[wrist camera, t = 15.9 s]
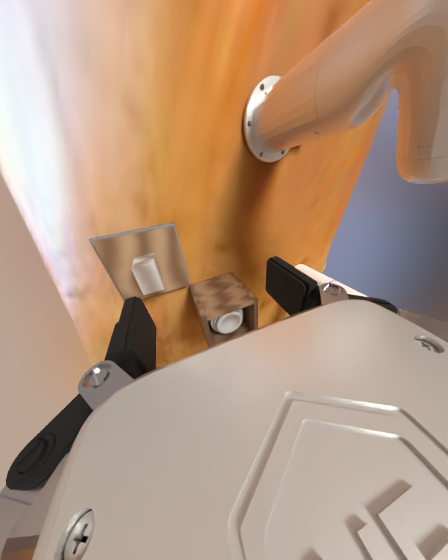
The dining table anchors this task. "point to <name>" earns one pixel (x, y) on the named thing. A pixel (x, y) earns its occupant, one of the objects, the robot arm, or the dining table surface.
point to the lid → (144, 262)
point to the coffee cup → (227, 322)
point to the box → (224, 305)
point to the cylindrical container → (324, 279)
